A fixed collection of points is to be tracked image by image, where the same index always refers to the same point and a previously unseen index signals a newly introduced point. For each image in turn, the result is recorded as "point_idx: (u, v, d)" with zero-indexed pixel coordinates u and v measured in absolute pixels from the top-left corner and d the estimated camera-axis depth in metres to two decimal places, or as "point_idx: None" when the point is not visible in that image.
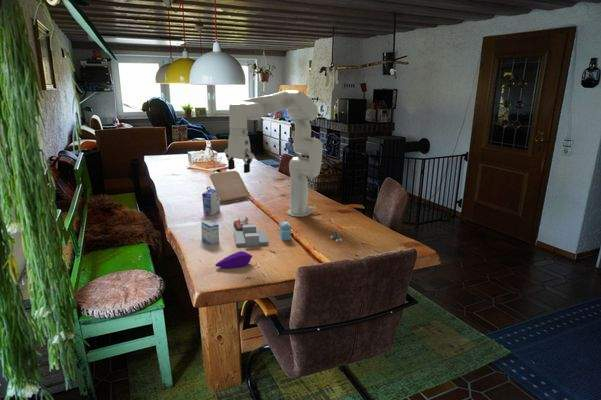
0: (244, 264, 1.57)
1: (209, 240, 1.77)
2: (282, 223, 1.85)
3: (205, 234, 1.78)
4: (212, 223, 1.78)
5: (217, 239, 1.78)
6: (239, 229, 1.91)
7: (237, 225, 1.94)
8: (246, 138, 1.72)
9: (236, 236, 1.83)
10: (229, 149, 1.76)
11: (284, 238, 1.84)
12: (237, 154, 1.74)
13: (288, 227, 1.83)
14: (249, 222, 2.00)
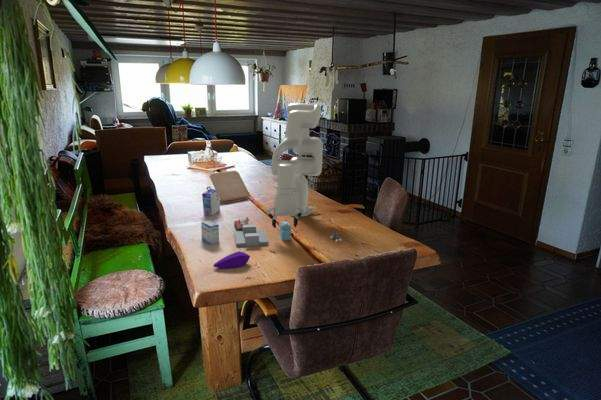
0: (242, 264, 1.56)
1: (209, 240, 1.77)
2: (282, 223, 1.85)
3: (205, 234, 1.78)
4: (212, 223, 1.78)
5: (217, 239, 1.78)
6: (239, 229, 1.91)
7: (237, 225, 1.94)
8: (295, 195, 1.82)
9: (236, 236, 1.83)
10: (278, 208, 1.80)
11: (284, 238, 1.84)
12: (289, 211, 1.81)
13: (288, 227, 1.83)
14: (249, 222, 2.00)
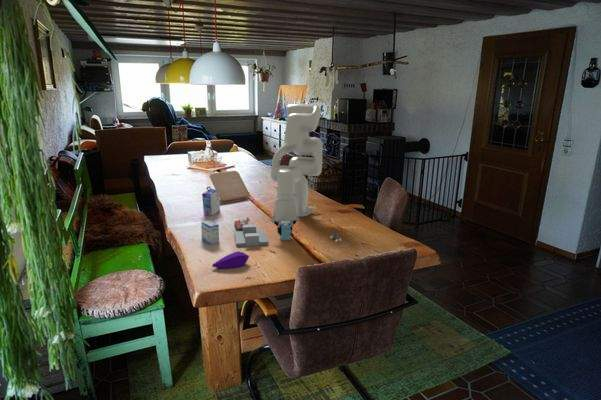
0: (241, 264, 1.56)
1: (209, 240, 1.77)
2: (282, 223, 1.85)
3: (205, 234, 1.78)
4: (212, 223, 1.78)
5: (217, 239, 1.78)
6: (238, 229, 1.90)
7: (237, 225, 1.94)
8: (295, 200, 1.83)
9: (236, 236, 1.83)
10: (278, 214, 1.81)
11: (284, 238, 1.84)
12: (289, 217, 1.82)
13: (288, 227, 1.83)
14: (250, 222, 2.00)
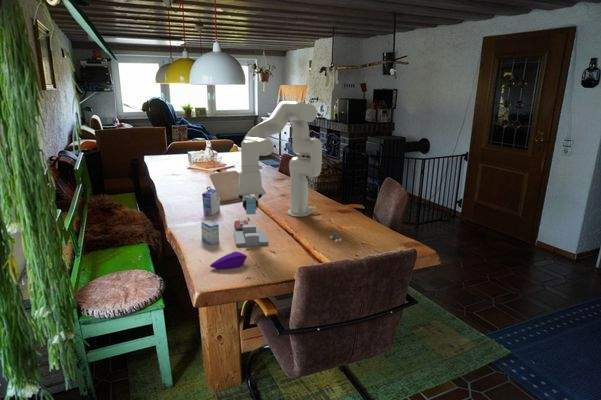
0: (239, 264, 1.56)
1: (209, 240, 1.77)
2: (247, 197, 1.78)
3: (205, 234, 1.78)
4: (212, 223, 1.78)
5: (217, 239, 1.78)
6: (237, 229, 1.90)
7: (236, 225, 1.94)
8: (260, 173, 1.76)
9: (236, 236, 1.83)
10: (242, 187, 1.74)
11: (249, 212, 1.77)
12: (254, 190, 1.75)
13: (253, 201, 1.76)
14: (249, 222, 2.00)
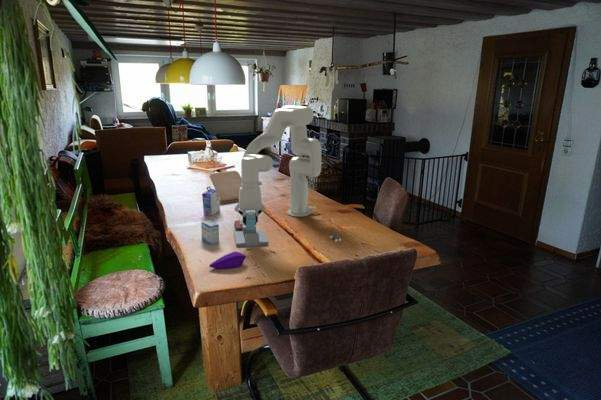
0: (238, 264, 1.56)
1: (209, 240, 1.77)
2: (247, 212, 1.80)
3: (205, 234, 1.78)
4: (212, 223, 1.78)
5: (217, 239, 1.78)
6: (237, 229, 1.90)
7: (236, 225, 1.94)
8: None
9: (236, 236, 1.83)
10: (242, 203, 1.76)
11: (249, 228, 1.79)
12: (254, 206, 1.77)
13: (253, 216, 1.78)
14: None
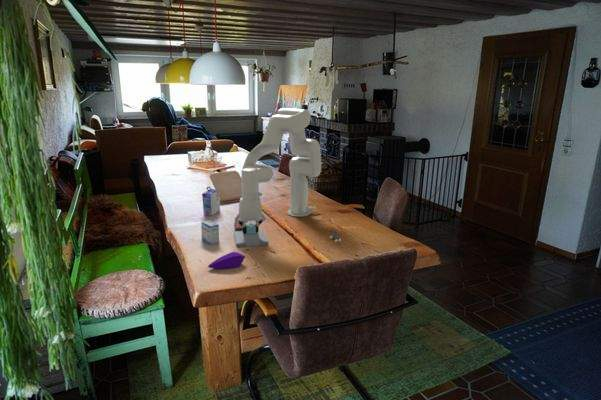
0: (237, 265, 1.56)
1: (209, 240, 1.77)
2: (247, 224, 1.82)
3: (205, 234, 1.78)
4: (212, 223, 1.78)
5: (217, 239, 1.78)
6: (237, 229, 1.90)
7: (236, 225, 1.94)
8: (260, 200, 1.80)
9: (236, 236, 1.83)
10: (243, 214, 1.77)
11: None
12: (254, 216, 1.79)
13: (253, 228, 1.79)
14: (249, 222, 2.00)
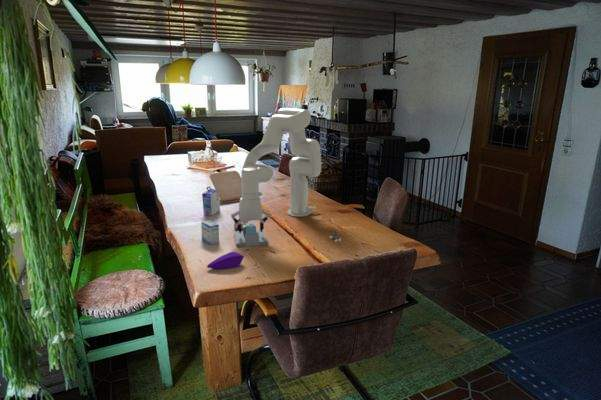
0: (236, 265, 1.56)
1: (209, 240, 1.77)
2: (247, 225, 1.82)
3: (205, 234, 1.78)
4: (212, 223, 1.78)
5: (217, 239, 1.78)
6: (236, 229, 1.90)
7: (236, 225, 1.94)
8: (260, 199, 1.80)
9: (236, 236, 1.83)
10: (243, 213, 1.77)
11: None
12: (254, 216, 1.79)
13: (253, 229, 1.79)
14: (249, 222, 2.00)
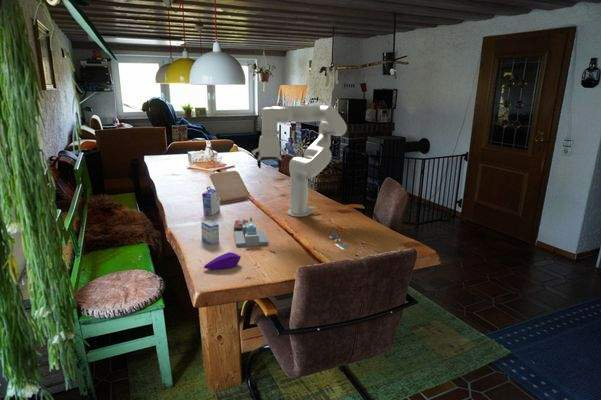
0: (233, 265, 1.56)
1: (209, 240, 1.77)
2: (247, 225, 1.82)
3: (205, 234, 1.78)
4: (212, 223, 1.78)
5: (217, 239, 1.78)
6: (235, 229, 1.91)
7: (235, 225, 1.94)
8: (278, 137, 1.98)
9: (236, 236, 1.83)
10: (262, 149, 1.95)
11: None
12: (272, 153, 1.97)
13: (253, 229, 1.79)
14: None
